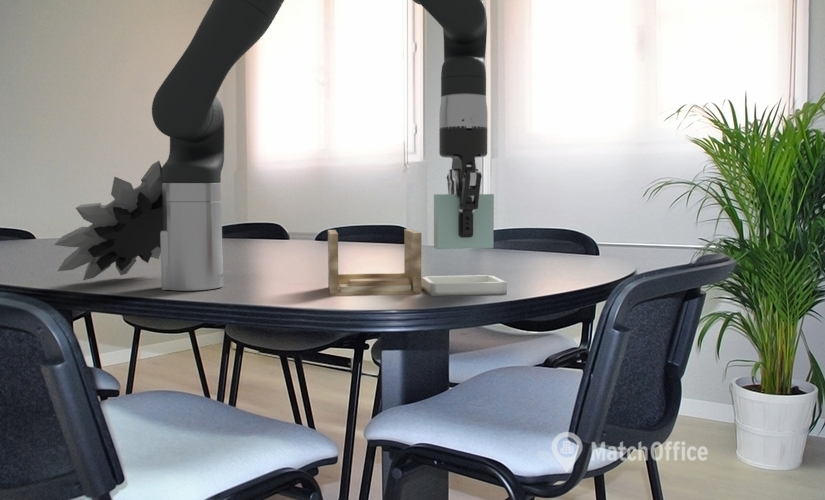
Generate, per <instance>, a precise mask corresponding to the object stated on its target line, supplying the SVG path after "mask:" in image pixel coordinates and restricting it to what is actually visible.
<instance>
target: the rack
mask: <svg viewBox="0 0 825 500" xmlns="http://www.w3.org/2000/svg"><path fill="white" fill-rule="evenodd" d="M403 230H404V231H403V232H404V233H403V234H404V238H403V239H404V242H403V243H404V248H403V249H404V253H403V254H404V258H403V259H404V268H403V269H404V272H387V273H386V272H382V273H380V272H379V273H339V233H338V232H337V230H336V229H327V259H328V260H327V261H328V262H327V265H328V266H327V267H328V268H327V269H328V270H327V272H328V273H327V277H328V280H327V281H328V290H329V295H330V296H332V297H333V296H337V297H338V296H371V295H372V296H373V295H375V296H376V295H382V296H383V295H407V294H408V295H412V294H413V295H416V294H417V295H419V294H420V295H421V294H422V289H421V276H422V232H420V231H418V230H414V229H411V228H404V229H403ZM375 278H407V279H408V280H409V284H410V285H411V291H368V292H340V290H339V284H349V279H375Z"/></svg>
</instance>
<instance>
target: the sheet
mask: <svg viewBox="0 0 825 500" xmlns="http://www.w3.org/2000/svg"><path fill="white" fill-rule="evenodd" d="M466 201H470V199H469V198H466ZM494 206H495V195H494V194H493V193H479V201H478V209H475V213H472V214H473V236H472V237H466V238H462V237H459V235H458V214H461V213H459V212H458V199H457V198H455V194H449V193H445V194H441V193H440V194H439V193H438V194H436V193H435V194H433V248H434V249H435V250H466V249H467V250H469V249H472V250H474V249H476V250H477V249H494V243H495V241H494V240H495V239H494V229H495V228H494V226H495V225H494V224H495V223H494V221H495V220H494V219H495V218H494V215H495V214H494V213H495V211H494V210H495V207H494Z"/></svg>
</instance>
